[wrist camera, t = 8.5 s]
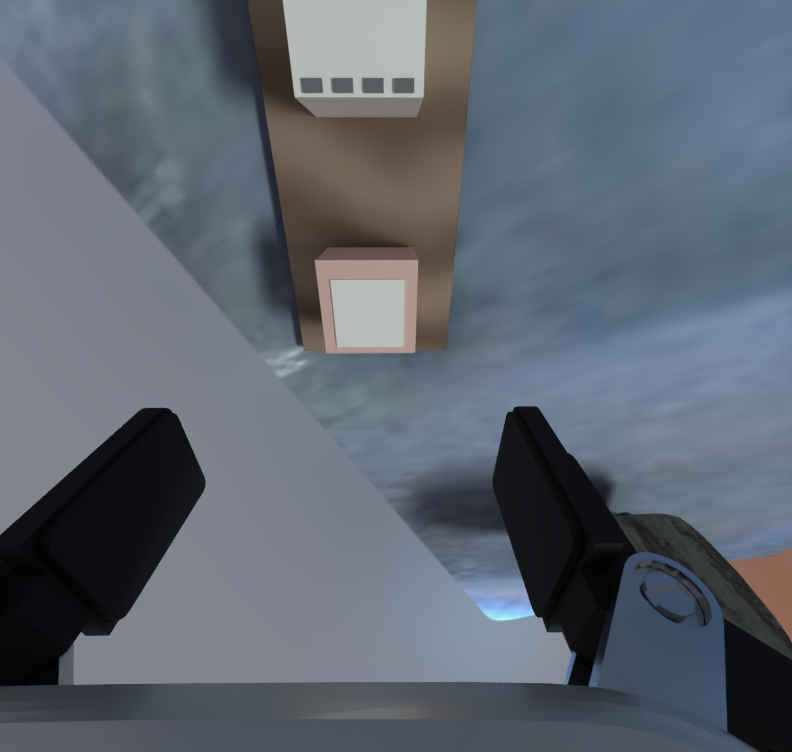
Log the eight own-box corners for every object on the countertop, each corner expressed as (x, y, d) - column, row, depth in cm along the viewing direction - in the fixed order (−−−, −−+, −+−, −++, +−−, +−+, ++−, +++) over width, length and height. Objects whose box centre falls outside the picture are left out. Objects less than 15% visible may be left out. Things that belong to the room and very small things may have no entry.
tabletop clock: (525, 535, 42) (666, 907, 20) (530, 487, 37) (720, 903, 16) (641, 524, 41) (919, 902, 19) (661, 474, 36) (1054, 896, 15)
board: (175, -492, 11) (161, -534, 11) (514, -486, 11) (522, -529, 11) (306, 346, 28) (303, 350, 27) (444, 346, 28) (446, 350, 27)
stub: (328, 247, 23) (314, 260, 19) (413, 247, 23) (418, 260, 19) (336, 327, 26) (325, 353, 22) (411, 327, 26) (415, 353, 22)
